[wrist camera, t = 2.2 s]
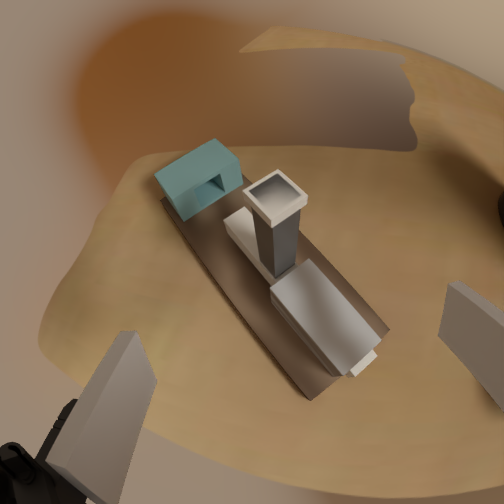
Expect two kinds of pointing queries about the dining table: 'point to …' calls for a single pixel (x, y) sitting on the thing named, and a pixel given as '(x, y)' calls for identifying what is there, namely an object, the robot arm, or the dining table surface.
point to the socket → (200, 178)
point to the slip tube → (274, 232)
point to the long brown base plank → (287, 300)
